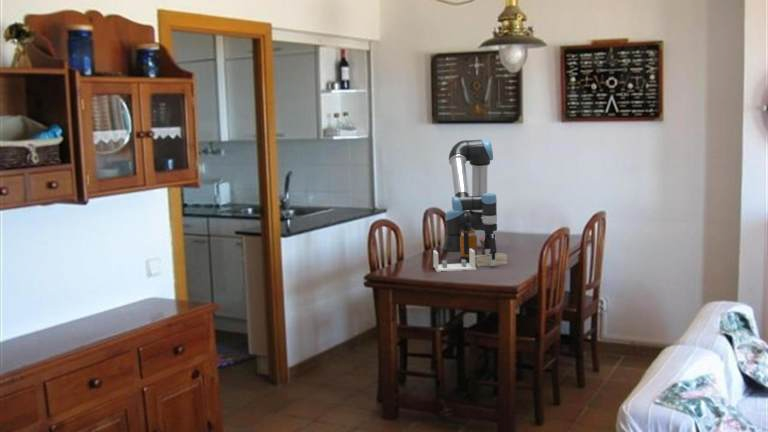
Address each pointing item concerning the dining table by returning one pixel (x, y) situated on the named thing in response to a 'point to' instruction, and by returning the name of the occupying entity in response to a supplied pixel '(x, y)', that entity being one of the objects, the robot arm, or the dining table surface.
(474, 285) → the dining table surface
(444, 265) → the cradle
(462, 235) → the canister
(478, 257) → the cream long box
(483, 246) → the mug
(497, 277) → the dining table surface
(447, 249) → the robot arm
